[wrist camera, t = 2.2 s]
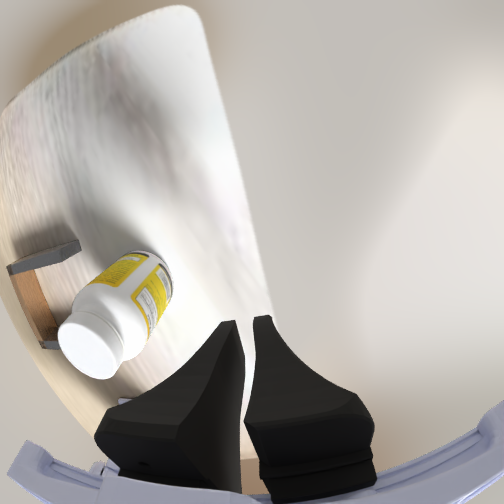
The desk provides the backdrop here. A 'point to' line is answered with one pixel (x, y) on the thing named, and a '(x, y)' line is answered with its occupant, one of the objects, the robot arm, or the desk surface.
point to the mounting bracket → (39, 290)
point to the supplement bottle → (116, 314)
